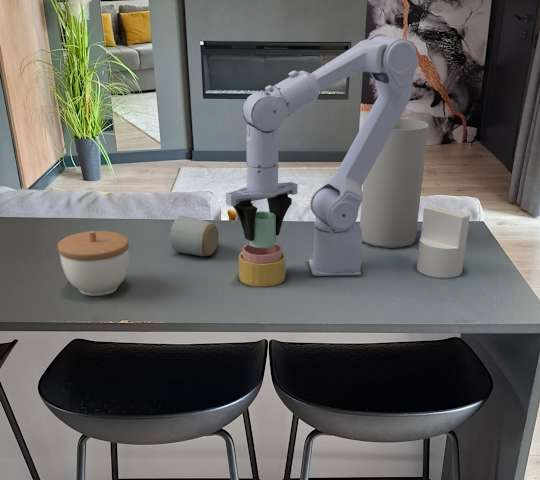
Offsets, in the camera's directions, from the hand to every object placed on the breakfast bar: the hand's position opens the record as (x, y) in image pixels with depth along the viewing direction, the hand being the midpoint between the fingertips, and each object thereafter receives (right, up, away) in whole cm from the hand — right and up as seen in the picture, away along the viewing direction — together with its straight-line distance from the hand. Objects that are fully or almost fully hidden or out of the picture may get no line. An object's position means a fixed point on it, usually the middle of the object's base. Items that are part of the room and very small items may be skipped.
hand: (262, 236), depth 134 cm
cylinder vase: (+28, +3, +24) cm, 37 cm away
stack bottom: (0, -7, +4) cm, 8 cm away
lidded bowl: (-31, -10, -1) cm, 32 cm away
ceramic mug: (-14, -1, +17) cm, 22 cm away
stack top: (0, -7, +4) cm, 8 cm away
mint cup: (0, -1, +1) cm, 1 cm away
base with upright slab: (+36, -5, +9) cm, 37 cm away
